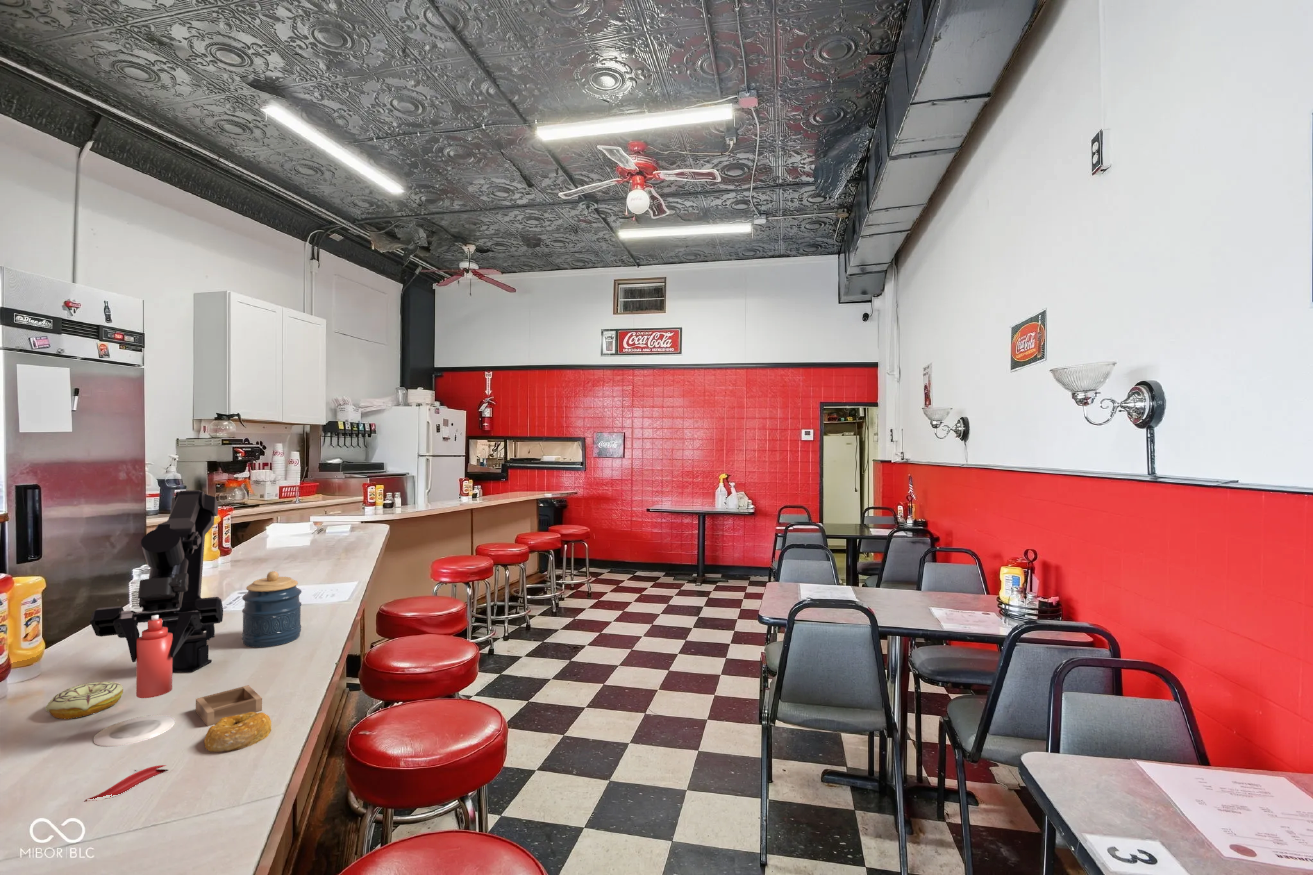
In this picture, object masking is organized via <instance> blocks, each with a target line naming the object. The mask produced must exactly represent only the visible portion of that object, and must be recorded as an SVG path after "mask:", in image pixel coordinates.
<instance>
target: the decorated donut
mask: <svg viewBox="0 0 1313 875" xmlns="http://www.w3.org/2000/svg"><path fill="white" fill-rule="evenodd" d="M123 693H124V688H123V685H122V684H121V683H119V682H115V681H97V682H88V683H87V682H86V683H82V684H78V685H76V686H71V687H69V688H67V689H64V690H63V691H61V692H59V693H57V694H55V695H54V696H53V697H52V699H50V700H49V702H48V703H47V705H46V706H45V711H46V713H49V714H50V715H51V716H53V717H54V718H55V719H58V720H71V718H72V719H77V718H76V717H78V718H83V717H86V716H89V715H94V714H93V713H95V714H97V713H99V712H101V711H105V710H107V709H108V708H110V707H112V706H114V705H116V704H117V703H118V702H119V700H120V699H121V698H122V695H123ZM82 716H83V717H82Z"/></svg>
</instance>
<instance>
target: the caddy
mask: <svg viewBox="0 0 1313 875" xmlns="http://www.w3.org/2000/svg"><path fill="white" fill-rule="evenodd" d="M249 712H255V713H260V712H263V697H262V696H260V695H259V694H258V693H257V692H256V691H255V690H254V689H253V688H252V687H251V686H250V685H244V686H240V687H236V688H232V689H227V690H225V691H221V692H217V693H213V694H209V695H205V696H201V697H196V698H195V713H196V714H197V716H199V718H200V719H201V720H202V721H203V723H204V724H205V725H206V727H211V726H215V724H216V723H217V722H219V721H220V719H222V718H224V717H229V716H235V715H241V714H246V713H249Z"/></svg>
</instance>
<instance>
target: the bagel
mask: <svg viewBox="0 0 1313 875" xmlns="http://www.w3.org/2000/svg"><path fill="white" fill-rule="evenodd" d="M272 730H273V728H272V719H271V717H270V715H269V714H266V713H265V712H263V711H260V712H256V713H255V712H249V713H246V714H241V715H235V716H229V717H224V718H222V719H220V721H219V722H217V723H216V724H215V725H211V726H209V728H208V729H207V731H206V735H205V737H204V740H203V743H204V747H205V749H206V750H208V752H210V753H211V752H212V753H217V752H219V753H222V752H230V751H234V750H241V749H245V748H248V747H251V746H253V745H255V744H257V743H260V742H261V741H263V740H265V739H266V738H267V737H268V736H269V735H270V734H271V732H272Z"/></svg>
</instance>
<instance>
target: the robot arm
mask: <svg viewBox="0 0 1313 875" xmlns="http://www.w3.org/2000/svg"><path fill="white" fill-rule="evenodd" d="M174 494H175V496H174V497H172V498H171V505H170V514H169V517H168V519H167V520H166V521H163V522H160V523H159V524H157V526H156V527H155V528H154V529H153V530H151V531H149V532H147V533H146V534H145V535H144V536H143V537H141V541H140V545H141V548H142V552H143V555H144V558H145V562H146V564H147V566H148V567H149V568H150V570H149V575H148V578H147V579H146V578H144V579H140V580H139V586H138V592H137V599H139V600H138V601H139V602H138V606H139V608H141V609H142V610H141V611H135V610H124V608H123V605H118V606H108V607H97V609H95V610H94V611H92V613H91V615H90V620H89V623H90V625H91V628H92V630H93V632H94V634H95V636H97V637H102V638H103V637H108V636H109V637H110V636H116V635H117V637H118V639H126V642H127V647H128V651H129V654H130V659H131V662H132V663H136V659H137V638H139V637H140V631H139V628H138V625H139V624H141V623H148V620H151V616H153V615H159V618H161V619H162V627H167V628H168V632H170V633H172V634H173V642H172V646H171V652H170V656H171V657H172V673H192V672H194V671H197V670H198V669H200V668H202V667H205V666H207V665H208V664H211V663H212V661H213V660H212V659H210V658H209V650H210V649H209V644H208V641H210V640H211V639H213V638H215V637H216V629H215V625H216V624H220V623H222V622H223V619H224V607H223V601H222V598H221V597H219V596H212V597H211V596H209V597H201V596H202V584H203V583H202V580H203V566H204V554H205V542H206V541H205V540H206V539H205V538H206V535H207V533H209V531H210V530H211V529H212V528H213V526H214V524H215V517H218V514H219V502H218V500H217V498H216V497H215V496H213V495H210V494H207V493H205V492H204V490H200V489H190V490H188V489H187V490H179V491H176V492H175V493H174Z"/></svg>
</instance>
